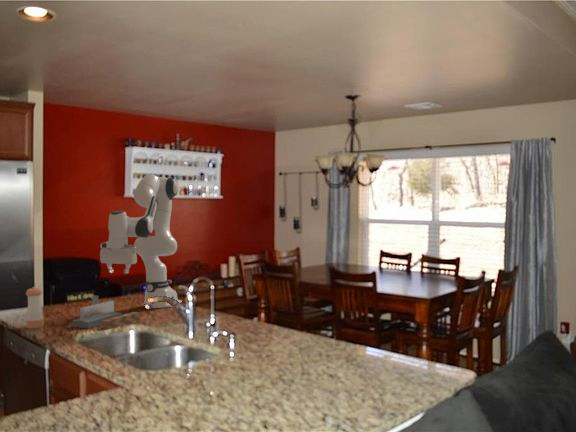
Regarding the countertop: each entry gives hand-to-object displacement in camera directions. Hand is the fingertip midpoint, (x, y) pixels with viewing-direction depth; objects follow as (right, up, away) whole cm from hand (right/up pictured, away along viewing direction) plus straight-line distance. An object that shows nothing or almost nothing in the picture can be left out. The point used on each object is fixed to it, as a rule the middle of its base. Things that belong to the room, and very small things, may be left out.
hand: (118, 273), depth 266 cm
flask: (-18, -24, +21) cm, 37 cm away
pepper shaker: (-39, -26, -3) cm, 47 cm away
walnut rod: (+1, -25, -1) cm, 25 cm away
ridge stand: (-11, -25, +3) cm, 27 cm away
